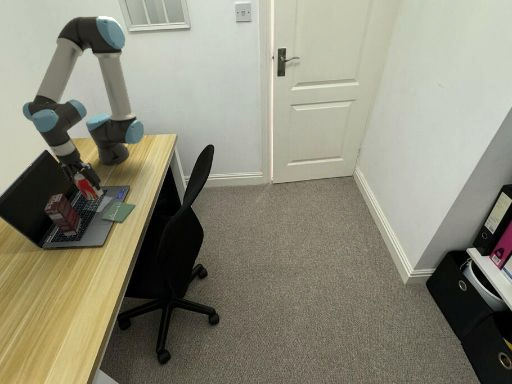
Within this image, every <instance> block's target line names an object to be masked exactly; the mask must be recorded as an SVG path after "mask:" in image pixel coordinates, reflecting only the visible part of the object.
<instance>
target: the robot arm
mask: <svg viewBox="0 0 512 384" xmlns="http://www.w3.org/2000/svg"><path fill="white" fill-rule="evenodd" d="M55 41H56V42H55V43H56V45H57V46H56V48H55V51H54V53H53V55H52V58H51V60H50V62H49V65H48V67H47V69H46V71H45V74H44V76H43V78H42V80H41V83H40V84H39V87H38V90H37V92H36V93H35V97H34V99H33V101H29V102H26V103H24V104H23V106H22V114H23V116H24V117H25V118H26V119H27V120H28V121H30V122H32V123H33V126H34V127H35V130H37V132H38V133H39V134H40V136H41V138H43V140H44V142H45V143H46V144H47V146H48V147H49V148H50V150H51V151H52V153H53V155H55V157H56V158H57V160H58V163H57V166H59V168H60V169H61V171H62V172H63V174H64V176H65V177H66V179H67V181H68V182H72V183H73V184H75V181H74V180H75V179H74V176H75V174H77V173H79V174H82V175H83V176H84V177H85V178H86V179H87V180H88V181H89V182H90V183H91V184H92V188H93V189H94V191H95V192H96V194H97V196H98V197H100V196H101V195H104V191H103V190H102V187H101V185H100V183H102V180H101V178H100V177H99V175H98V173H96V171H95V170H94V168H93V167H92V164H91V163H90V162H86V163H85V162H84V161H83V160H82V159H81V153H80V151H79V149H78V148H77V147H76V143H74V141H73V139H72V138H71V137H70V134H69V133H68V131H69V130H70V129H71V128H72V127H74V126H75V125H77V124H78V123H80V122H81V121H83V119H84V118H85V117H86V116H87V113H88V112H87V109H86V106H85V105H84V104H83V103H82V102H81V101H79V100H77V99H70V100H67V101H66V102H65V103H60V102H61V100H62V97H63V95H64V92H65V90H66V87H67V86H68V85H67V84H68V83H69V80H70V78H71V75H72V73H73V71H74V69H75V65H76V63H77V61H78V58H80V57H82V56H83V54H84V52H85V51H86V50H88V49H90V50H91V53H92V55H93V56H94V57H96V58H97V60H98V61H97V62H98V65H99V68H100V71H101V75H102V80H103V83H104V88H105V92H106V96H107V98H108V103H109V107H110V110H111V115H110V114H109V113H100V114H99V113H98V114H96V115H94V116H92V117H90V118H89V119H87V121H86V123H85V127H86V129H87V131H88V133H89V134H90V136H91V139H92V140H93V142H94V144H95V146H96V148H97V152H98V160H99V162H100V163H101V164H102V165H105V166H111V165H117V164H120V163H122V162H124V161H125V160H126V159H128V158H129V156H130V150H129V148H128V147H127V146H126V145H137V144H139V143H140V142H141V141H142V139H143V138H144V134H145V128H144V124H143V122H142V121H141V120H139V119H138V117H137V115H136V114H135V113H134V112H133V111H132V108H131V103H130V99H129V94H128V89H127V86H126V80H125V75H124V72H123V68H122V63H121V58H120V57H121V55H122V54H123V51H122V49H123V48H124V47H125V44H126V37H125V33H124V31H123V28H122V26H121V24H120V23H118V22H117V20H115V18H113V17H109V16H103V15H100V16H77V17H73V18H72V19H70V20H69V22H67V23H66V24H65V25H64V27H63V28H62V29H61V30H60V32H59V34H58V36H57V38H56V40H55ZM125 144H126V145H125ZM75 186H76V187H77V185H76V184H75Z"/></svg>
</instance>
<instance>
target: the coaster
mask: <svg viewBox="0 0 512 384" xmlns="http://www.w3.org/2000/svg"><path fill="white" fill-rule="evenodd" d="M120 203H121V204H120V205H119V204H118V205H117V203H116V204H115V202H114V203H113V204H112V205H111V207H109V209H108V210H106V213H105V212H104V214H103V216H102V217H101V219H102V220H104V219H109V220H108V221H110V218H111V217H110V216H109V215H112V214H115V211H116V210H117V206H120V207H119V208H118V211H117V213H116V215H115V217H114V221H113V222H115V223H116V222H118V223H124V221H126V219H127V218H128V217H129V215H130V214H131V212H133V210H134V209H135V208H136V204H133V203H126V202H120Z"/></svg>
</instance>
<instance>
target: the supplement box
mask: <svg viewBox="0 0 512 384" xmlns="http://www.w3.org/2000/svg"><path fill="white" fill-rule="evenodd" d="M43 211H44V213H45V214H46V215H47V216H48V218H49V219H50V221H52V222H53V223H54V225H56V227H57V228H58V229H59V230H60V232H61V233H62V234H63V235H64V237H65V236H70V235H76V234H78V231H79V228H80V229H81V227H80V223H81V220H83V219H82V217H81V216H80V215H79V214H78V212H77V211H76V209H75V208H74V206H73V205H72V204H71V202H70V201H69V200H68V198H67V197H66V196H65V194H64V193H57V194H52V195H50V196H49V199H48V201H47V203H46V204H45V208H44V209H43ZM79 232H80V231H79ZM78 235H79V234H78Z"/></svg>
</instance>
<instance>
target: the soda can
mask: <svg viewBox="0 0 512 384" xmlns="http://www.w3.org/2000/svg"><path fill="white" fill-rule="evenodd" d="M74 179H75V180H74V181H75V183H74V184H75V186H76V185H77V186H76V187H77V189H78V190H79V191H80V193H81V194H82V196H83V197H84V198H85V200H87V201H89V200H95V199H97V198H99V197H98V196H97V194H96V192H95V191H94V189H93V188H92V184H91V183H90V182H89V181H88V180H87V179H86V178H85V177H84V176H83V175H82V174H79V173H78V172H77V174H75V176H74Z"/></svg>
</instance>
